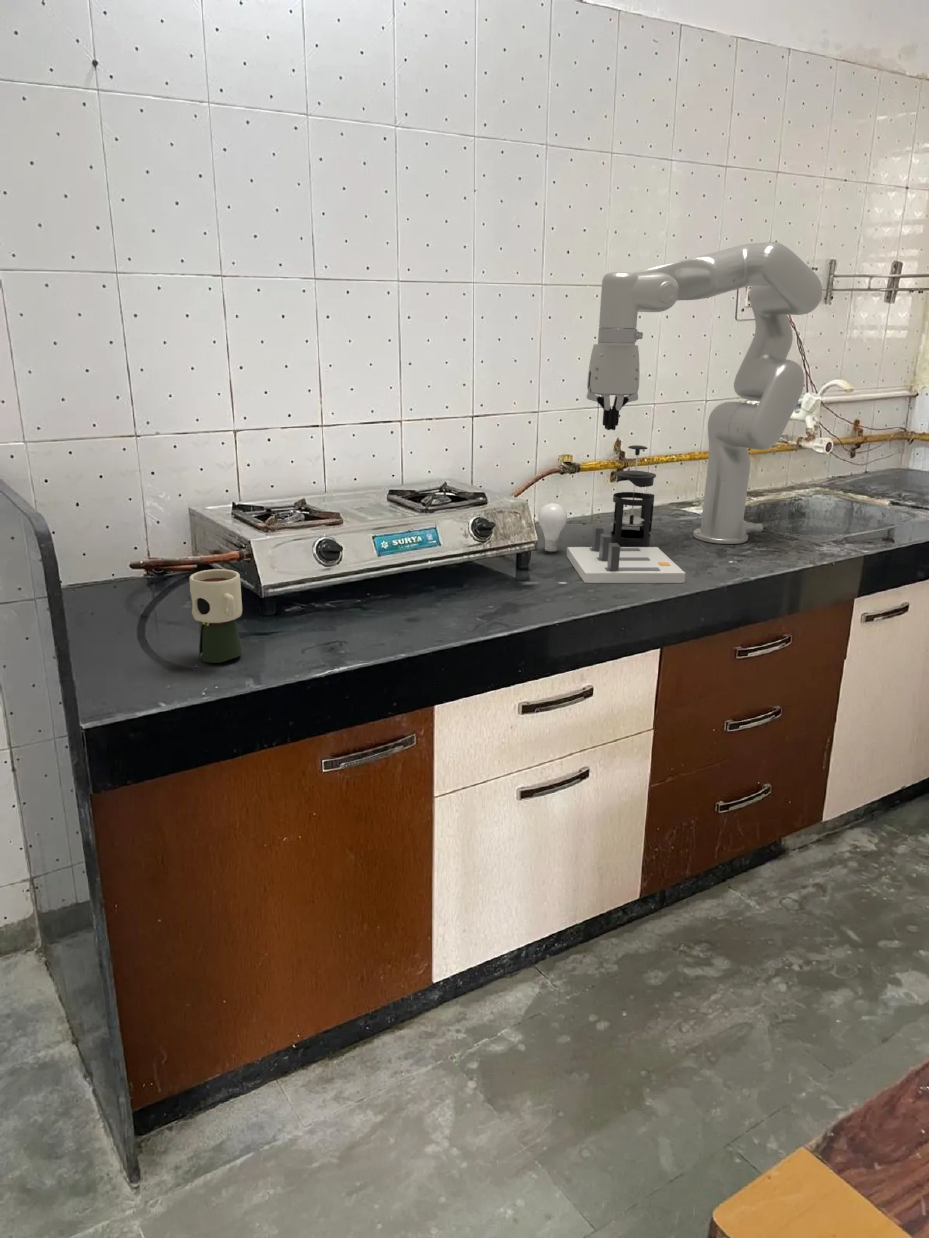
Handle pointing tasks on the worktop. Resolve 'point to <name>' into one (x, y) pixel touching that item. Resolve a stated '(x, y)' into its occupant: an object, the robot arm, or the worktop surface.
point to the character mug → (217, 613)
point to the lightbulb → (552, 524)
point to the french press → (645, 522)
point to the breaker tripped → (604, 546)
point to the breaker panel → (626, 566)
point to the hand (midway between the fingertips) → (609, 429)
